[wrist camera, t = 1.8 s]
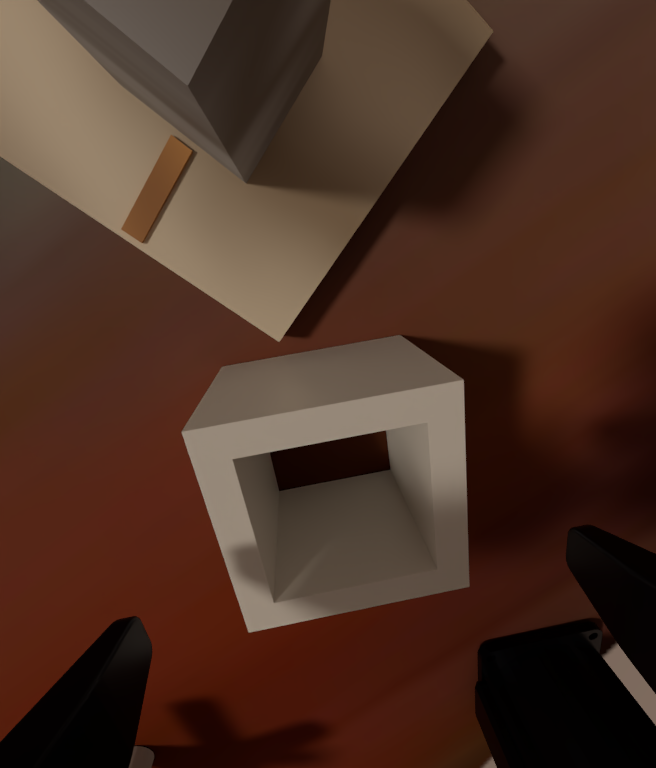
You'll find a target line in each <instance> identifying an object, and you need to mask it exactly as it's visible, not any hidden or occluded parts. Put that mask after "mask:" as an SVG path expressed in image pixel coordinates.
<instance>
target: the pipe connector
mask: <svg viewBox="0 0 656 768" xmlns="http://www.w3.org/2000/svg"><path fill="white" fill-rule="evenodd" d="M153 760H154V753H153V751H151V750H150V749H148V748H146V747H142V746H134V749H133V754H132V758H131V762H130V765H129V768H151V767H152V764H153Z"/></svg>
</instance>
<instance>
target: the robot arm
mask: <svg viewBox="0 0 656 768" xmlns="http://www.w3.org/2000/svg"><path fill="white" fill-rule="evenodd" d="M566 561H567V564H568V567H569V569H570V571H571V572H572V574H573V575H574V577H575V578H576V580H577V582H578V583H579V585H580V586H581V588H582V589H583V591H584V592H585V594H586V595H587V597H588V599H589V600H590V602H591V603H592V605H593V606H594V608H595V609H596V611H597V612H598V614H599V616H600V617H601V619H602V620H603V622H604V623H605V625H606V626H607V628H608V630H609V631H610V633H611V634H612V636H613V637H614V639H615V640H616V641H617V643H618V644H619V646H620V647H621V649H622V650H623V651H624V653H625V654H626V656H627V657H628V658H629V659H630V661H631V662H632V664H633V665H634V666H635V668H636V669H637V670H638V671H639V673H640V674H641V675H642V676H643V678H644V679H645V681H646V682H647V683H648V684H649V686H650V687H651V688H652V690H653V691H654V692H655V694H656V554H655V553H653V552H650V551H648V550H646V549H644V548H641V547H639V546H637V545H635V544H633V543H630V542H628V541H626V540H624V539H622V538H619V537H617V536H615V535H613V534H611V533H608V532H606V531H604V530H602V529H600V528H597V527H595V526H592V525H583V526H578V527H573V528H571V529H570V530H569V531H568V538H567V549H566ZM601 641H602V631H601V630H600V629H599V628H598V626H597V625H596V624H595V623H593V622H587V623H583V624H578V625H573V626H569V627H564V628H559V629H555V630H550V631H546V632H541V633H536V634H532V635H527V636H522V637H518V638H513V639H508V640H504V641H499V642H495V643H490V644H486V645H483V646H482V647H480V649H479V650H478V681H477V683H476V686H475V713H476V717H477V719H478V722H479V724H480V727H481V729H482V732H483V734H484V737H485V739H486V742H487V744H488V746H489V749H490V751H491V754H492V756H493V759H494V761H495V764H496V766H497V768H656V726H655V724H654V723H653V722H652V720H651V719H650V718H649V717H648V715H647V714H646V713H645V711H644V710H643V709H642V708H641V706H640V705H639V704H638V703H637V701H636V700H635V699H634V697H633V696H632V695H631V694H630V692H629V691H628V690H627V688H626V687H625V686H624V685H623V683H622V682H621V681H620V679H619V678H618V677H617V676H616V674H615V673H614V672H613V670H612V669H611V668H610V667H609V666H608V664H607V663H606V661H605V660H604V659H603V658H602V656H601V655H600V647H601ZM151 658H152V644H151V641H150V639H149V637H148V635H147V633H146V630H145V628H144V626H143V624H142V622H141V620H140V618H138V617H137V616H132V617H128V618H123V619H118V620H116V621H115V622H113V623H112V624H111V625H110V626H109V627H108V628H107V629H106V630H105V631H104V632H103V633H102V634H101V636H100V637H99V638H98V639H97V640H96V641H95V642H94V643H93V644H92V645H91V646H90V647H89V648H88V649H87V650H86V651H85V653H84V654H83V655H82V656H81V657H80V658H79V659H78V660H77V661H76V662H75V663H74V664H73V665H72V666H71V667H70V668H69V670H68V671H67V672H66V673H65V674H64V675H63V676H62V677H61V678H60V679H59V680H58V681H57V682H56V683H55V684H54V685H53V687H52V688H51V689H50V690H49V691H48V692H47V693H46V694H45V695H44V696H43V697H42V698H41V699H40V700H39V701H38V702H37V704H36V705H35V706H34V707H33V708H32V709H31V710H30V711H29V712H28V713H27V714H26V715H25V716H24V717H23V718H22V719H21V721H20V722H19V723H18V724H17V725H16V726H15V727H14V728H13V729H12V730H11V731H10V732H9V733H8V734H7V735H6V736H5V738H4V739H3V740H2V741H1V742H0V768H129V765H130V762H131V758H132V754H133V749H134V745H135V740H136V735H137V730H138V725H139V720H140V715H141V710H142V704H143V699H144V694H145V689H146V684H147V679H148V673H149V668H150V663H151Z"/></svg>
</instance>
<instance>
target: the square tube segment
mask: <svg viewBox="0 0 656 768" xmlns="http://www.w3.org/2000/svg"><path fill="white" fill-rule="evenodd" d="M385 430H386V436H387V445H388V453H389V462H390V470H386V471H381V472H376V473H370V474H365V475H360V476H355V477H350V478H345V479H339V480H334V481H329V482H324V483H319V484H314V485H308V486H303V487H298V488H293V489H288V490H283V491H279V488H278V484H277V480H276V476H275V472H274V468H273V464H272V460H271V456H270V452H274V451H279V450H284V449H289V448H295V447H300V446H305V445H311V444H316V443H321V442H327V441H332V440H337V439H342V438H348V437H353V436H358V435H364V434H369V433H374V432H380V431H385ZM182 435H183V438H184V441H185V444H186V447H187V450H188V453H189V456H190V459H191V462H192V465H193V468H194V471H195V474H196V477H197V480H198V483H199V486H200V489H201V492H202V495H203V498H204V501H205V504H206V507H207V510H208V512H209V515H210V518H211V521H212V524H213V527H214V530H215V533H216V536H217V539H218V542H219V545H220V548H221V551H222V554H223V557H224V560H225V563H226V566H227V569H228V572H229V575H230V578H231V581H232V584H233V587H234V590H235V593H236V596H237V599H238V602H239V605H240V608H241V611H242V614H243V617H244V620H245V623H246V626H247V629H248V632H254V631H259V630H264V629H269V628H273V627H278V626H283V625H288V624H293V623H297V622H302V621H307V620H312V619H317V618H321V617H326V616H331V615H336V614H341V613H345V612H350V611H355V610H360V609H364V608H369V607H374V606H379V605H384V604H388V603H393V602H398V601H403V600H408V599H412V598H417V597H422V596H427V595H432V594H436V593H441V592H446V591H451V590H456V589H460V588H465V587H469V557H468V520H467V482H466V445H465V407H464V380H463V379H462V378H460V377H459V376H458V375H456V374H455V373H453V372H452V371H451V370H449V369H448V368H446V367H445V366H443V365H442V364H441V363H439V362H438V361H436V360H435V359H434V358H432V357H431V356H429V355H428V354H426V353H425V352H424V351H422V350H421V349H419V348H418V347H417V346H415V345H414V344H412V343H411V342H409V341H408V340H407V339H405V338H404V337H402V336H401V335H398V336H392V337H386V338H381V339H375V340H369V341H364V342H358V343H353V344H347V345H341V346H336V347H330V348H325V349H319V350H313V351H308V352H302V353H297V354H291V355H285V356H280V357H274V358H268V359H263V360H257V361H252V362H246V363H240V364H235V365H229V366H224V367H222V368H221V369H220V371H219V373H218V374H217V376H216V377H215V379H214V381H213V382H212V384H211V385H210V387H209V389H208V390H207V392H206V393H205V395H204V397H203V398H202V400H201V401H200V403H199V405H198V406H197V408H196V409H195V411H194V413H193V414H192V416H191V418H190V419H189V421H188V422H187V424H186V426H185V427H184V429H183V430H182Z"/></svg>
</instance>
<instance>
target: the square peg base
mask: <svg viewBox="0 0 656 768" xmlns="http://www.w3.org/2000/svg"><path fill="white" fill-rule="evenodd" d="M492 33H493V30H492V29H491V28H490V27H489V25H488V24H487V23H486V22H485V21H484V20H483V18H482V17H481V16H480V15H479V14H478V13H477V11H476V10H475V9H474V8H473V7H472V6H471V4H470V3H469V2H468V1H467V0H0V157H2V158H3V159H5V160H6V161H8V162H9V163H11V164H12V165H14V166H15V167H17V168H18V169H20V170H21V171H23V172H24V173H26V174H27V175H29V176H30V177H32V178H33V179H35V180H36V181H38V182H39V183H41V184H43V185H44V186H46V187H47V188H49V189H50V190H52V191H53V192H55V193H56V194H58V195H59V196H61V197H62V198H64V199H65V200H67V201H68V202H70V203H71V204H73V205H74V206H76V207H77V208H79V209H80V210H82V211H83V212H85V213H86V214H88V215H89V216H91V217H92V218H94V219H95V220H97V221H98V222H100V223H101V224H103V225H104V226H106V227H107V228H109V229H110V230H112V231H113V232H115V233H116V234H118V235H119V236H121V237H122V238H124V239H125V240H127V241H128V242H130V243H131V244H133V245H134V246H136V247H137V248H139V249H140V250H142V251H143V252H145V253H146V254H148V255H149V256H151V257H152V258H154V259H155V260H157V261H158V262H160V263H161V264H163V265H164V266H166V267H167V268H169V269H170V270H172V271H173V272H175V273H176V274H178V275H179V276H181V277H182V278H184V279H185V280H187V281H188V282H190V283H191V284H193V285H194V286H196V287H197V288H199V289H200V290H202V291H203V292H205V293H206V294H208V295H209V296H211V297H212V298H214V299H215V300H217V301H218V302H220V303H221V304H223V305H224V306H226V307H227V308H229V309H230V310H232V311H233V312H235V313H236V314H238V315H239V316H241V317H242V318H244V319H245V320H247V321H248V322H250V323H251V324H253V325H254V326H256V327H257V328H259V329H260V330H262V331H263V332H265V333H266V334H268V335H269V336H271V337H272V338H274V339H275V340H277V341H278V342H280V340H281V339H282V337H283V336H284V334H285V333H286V331H287V330H288V329H289V327H290V326H291V324H292V323H293V321H294V320H295V318H296V317H297V315H298V314H299V313H300V311H301V310H302V308H303V307H304V305H305V304H306V302H307V301H308V300H309V298H310V297H311V295H312V294H313V292H314V291H315V289H316V288H317V286H318V285H319V284H320V282H321V281H322V279H323V278H324V276H325V275H326V273H327V272H328V271H329V269H330V268H331V266H332V265H333V263H334V262H335V260H336V259H337V257H338V256H339V255H340V253H341V252H342V250H343V249H344V247H345V246H346V244H347V243H348V242H349V240H350V239H351V237H352V236H353V234H354V233H355V231H356V230H357V228H358V227H359V226H360V224H361V223H362V221H363V220H364V218H365V217H366V215H367V214H368V213H369V211H370V210H371V208H372V207H373V205H374V204H375V202H376V201H377V199H378V198H379V197H380V195H381V194H382V192H383V191H384V189H385V188H386V186H387V185H388V184H389V182H390V181H391V179H392V178H393V176H394V175H395V173H396V172H397V170H398V169H399V168H400V166H401V165H402V163H403V162H404V160H405V159H406V157H407V156H408V154H409V153H410V152H411V150H412V149H413V147H414V146H415V144H416V143H417V141H418V140H419V139H420V137H421V136H422V134H423V133H424V131H425V130H426V128H427V127H428V125H429V124H430V123H431V121H432V120H433V118H434V117H435V115H436V114H437V112H438V111H439V110H440V108H441V107H442V105H443V104H444V102H445V101H446V99H447V98H448V96H449V95H450V94H451V92H452V91H453V89H454V88H455V86H456V85H457V83H458V82H459V81H460V79H461V78H462V76H463V75H464V73H465V72H466V70H467V69H468V67H469V66H470V65H471V63H472V62H473V60H474V59H475V57H476V56H477V54H478V53H479V52H480V50H481V49H482V47H483V46H484V44H485V43H486V41H487V40H488V38H489V37H490V36H491V34H492Z"/></svg>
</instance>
